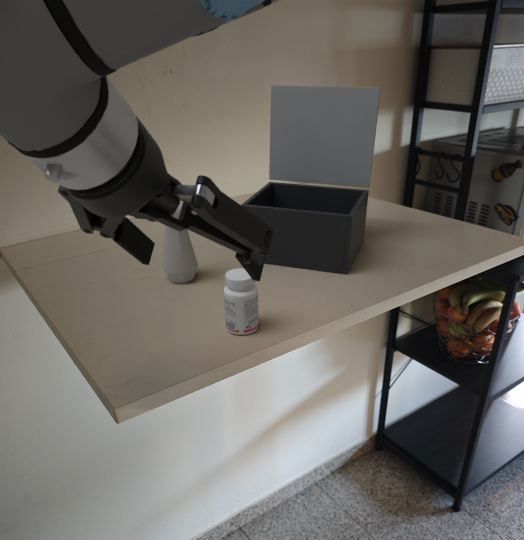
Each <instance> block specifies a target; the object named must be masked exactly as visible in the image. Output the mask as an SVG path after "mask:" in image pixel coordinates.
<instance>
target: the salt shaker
mask: <svg viewBox="0 0 524 540" xmlns="http://www.w3.org/2000/svg"><path fill="white" fill-rule="evenodd" d="M182 204H183V201H180V204H179V206H178V208H177V210H176V211H175V213H174V215H173V217H174V218H176V219H179V215H180V212H181V208H182ZM163 238H164V241H163V260H162V261H163V262H162V267H163V269H164V272H165V273H166V276H167V277H168V279H169V280H170V281H171V282H172V283H173V284H174V283H175V284H186V283H189V282H191V281H193V280H194V277H195V274H196V273H197V272H196V271H197V270H198V266H199V263H198V261H197V257H196V254H195V250H194V246H193V244H192V240H191V238H190V233H189V230H188V229H186V230H183V231H177V230H175V229H173V228H170V227H168V226H166V225H164V237H163Z"/></svg>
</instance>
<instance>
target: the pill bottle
mask: <svg viewBox="0 0 524 540" xmlns="http://www.w3.org/2000/svg"><path fill="white" fill-rule="evenodd" d="M224 281H225V286H224V288H223V304H224V305H223V306H224V317H225V318H224V319H225V320H224V321H225V329H226V330H227V331H228V332H229V333H230V334H233V335H238V336H246V335H250V334H253V333H255V332H256V331H257V330H258V328H259V326H260V323H259V321H260V320H259V319H260V318H259V317H260V316H259V290H258V286H257V285H256V281H253V280H252V278H251V277H250V276H249V274H248V273H247V272H246V270H245V269H244V268H243V267H239V268H232V269H230V270H228V271H226V273H225V275H224Z"/></svg>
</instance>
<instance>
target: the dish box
mask: <svg viewBox="0 0 524 540" xmlns="http://www.w3.org/2000/svg"><path fill="white" fill-rule="evenodd" d="M369 192H370V190H369V189H362V188H350V187H336V186H326V185H325V186H323V185H315V184H314V185H312V184H302V183H301V184H300V183H289V182H277V181H269V182H267V183H266V184H265V185H264V186H263V187H261V188H260V189H259V190H257V191H256V192H255V193H254V194H253V195H251V196H250V197H249V198H248V199H246V200H245V201H243V203H241V204H240V205H241V206H243V207H244V208H245V209H247V210H248V211H250V212H251V213H252V214H254V215H255V216H257V217H258V218H259V219H261V220H262V221H264V222H265V223H266V224H268V225H269V226H271V227H272V228H273V229H274V230H275V233H274V237H273V241H272V245H271V249H270V253H269V256H265V262H264V264H267V265H274V266H282V267H287V268H296V269H304V270H312V271H317V272H318V271H319V272H325V273H326V272H327V273H333V274H340V275H348V274H349V272H350V270H351V268H352V266H353V264H354V262H355V260H356V258H357V256H358V254H359V252H360V250H361V248H362V246H363V244H364V240H365V232H366V231H365V230H366V224H367V223H366V222H367V221H366V220H367V213H368V203H369V194H370V193H369Z"/></svg>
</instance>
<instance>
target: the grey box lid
mask: <svg viewBox="0 0 524 540" xmlns="http://www.w3.org/2000/svg"><path fill="white" fill-rule="evenodd" d="M381 91H382V88H381V87H364V86H363V87H361V86H327V85H326V86H325V85H324V86H323V85H320V86H319V85H287V84H285V85H284V84H283V85H281V84H272V85H270V116H269V117H270V118H269V120H270V121H269V126H270V127H269V164H268V169H269V170H268V180H269V181H281V182H282V181H283V182H292V183H294V182H295V183H307V184H319V185H329V186H330V185H332V186H341V187H342V186H343V187H355V188H365V189H366V188H368V189H369V188H370V187H371V177H372V169H373V161H374V150H375V143H376V135H377V134H376V133H377V126H378V116H379V108H380V100H381Z"/></svg>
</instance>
